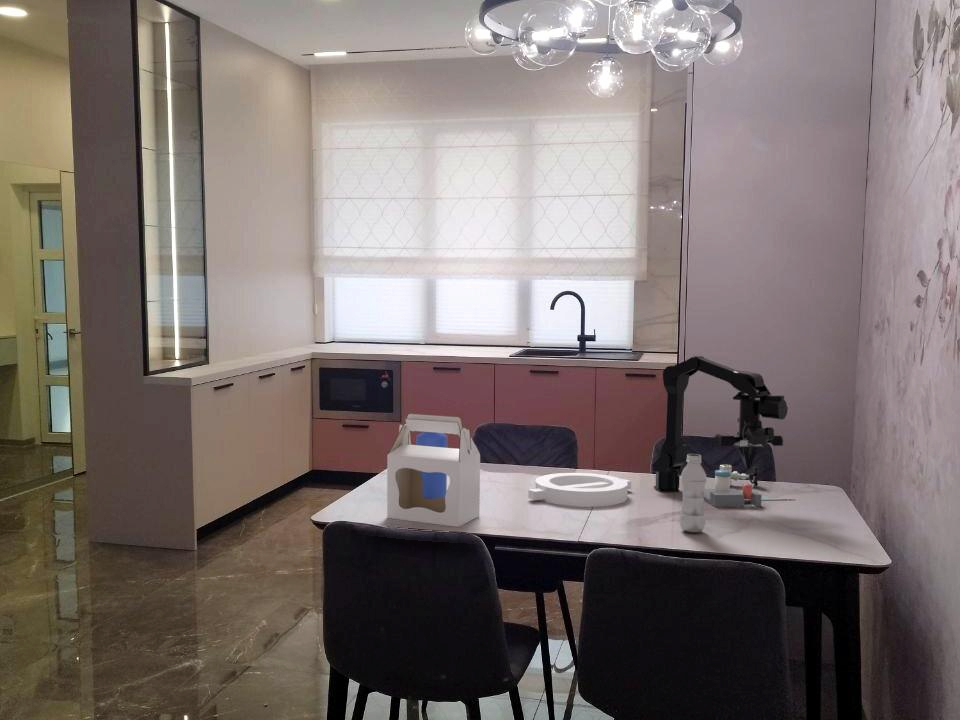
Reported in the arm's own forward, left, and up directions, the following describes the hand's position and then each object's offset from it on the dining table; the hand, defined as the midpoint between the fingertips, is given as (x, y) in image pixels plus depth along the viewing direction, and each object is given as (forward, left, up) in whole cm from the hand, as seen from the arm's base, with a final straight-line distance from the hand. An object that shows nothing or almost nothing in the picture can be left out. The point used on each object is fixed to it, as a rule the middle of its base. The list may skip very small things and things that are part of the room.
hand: (747, 468), depth 248 cm
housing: (-3, +8, -11) cm, 14 cm away
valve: (+8, +27, -11) cm, 30 cm away
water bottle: (-92, +11, -11) cm, 94 cm away
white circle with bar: (-46, +14, -11) cm, 50 cm away
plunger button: (0, 0, -9) cm, 9 cm away
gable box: (-93, -10, -11) cm, 94 cm away
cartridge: (-3, +10, -11) cm, 15 cm away
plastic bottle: (-26, -29, -11) cm, 40 cm away
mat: (+12, +10, -11) cm, 19 cm away
